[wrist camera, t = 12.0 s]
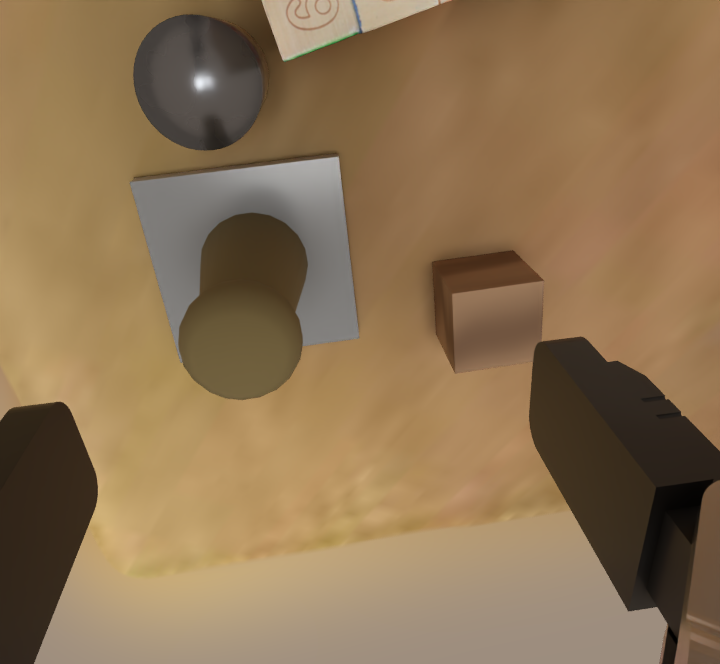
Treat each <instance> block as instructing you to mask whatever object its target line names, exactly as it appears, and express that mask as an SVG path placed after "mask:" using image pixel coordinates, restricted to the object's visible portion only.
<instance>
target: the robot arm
mask: <svg viewBox="0 0 720 664" xmlns="http://www.w3.org/2000/svg"><path fill="white" fill-rule="evenodd" d="M529 422H530V429H531V434H532V438H533V441H534V444H535V447H536V449H537V451H538V452H539V454H540V456H541V458H542V460H543V461H544V463H545V465H546V467H547V468H548V470H549V472H550V474H551V475H552V477H553V479H554V481H555V483H556V484H557V486H558V488H559V490H560V491H561V493H562V495H563V497H564V498H565V500H566V502H567V504H568V505H569V507H570V509H571V511H572V513H573V514H574V516H575V518H576V520H577V521H578V523H579V525H580V527H581V528H582V530H583V532H584V534H585V535H586V537H587V539H588V541H589V543H590V544H591V546H592V548H593V550H594V551H595V553H596V555H597V557H598V558H599V560H600V562H601V564H602V565H603V567H604V569H605V571H606V573H607V574H608V576H609V578H610V580H611V581H612V583H613V585H614V586H615V588H616V590H617V592H618V594H619V596H620V597H621V599H622V601H623V603H624V604H625V606H626V608H627V610H628V611H634V610H640V609H647V608H653V607H658V609H659V610H660V612H661V614H662V615H663V617H664V618H665V620H666V622H667V627H666V630H665V634H664V638H663V644H662V651H661V657H660V662H659V664H720V451H719V450H718V449H717V448H716V447H715V446H714V445H713V444H712V443H711V442H710V441H709V440H708V439H707V438H706V437H705V436H704V435H703V434H702V433H701V432H700V431H699V430H698V429H697V428H696V427H695V426H694V425H693V424H692V423H691V422H690V421H689V420H688V419H687V418H686V417H685V416H681V411H680V410H679V409H678V408H677V407H676V406H675V405H674V404H673V403H672V402H671V401H670V400H669V399H667V400H666V399H665V395H664V394H663V393H662V392H661V391H660V390H659V389H658V388H657V387H656V386H655V385H654V384H653V383H652V382H651V381H650V380H649V379H648V378H647V377H646V376H645V375H643V374H641V373H639V372H637V371H635V370H634V369H632V368H630V367H628V366H626V365H624V364H622V363H621V362H619V361H613V362H607V361H606V360H605V359H604V358H603V357H602V356H601V355H600V353H599V352H598V351H597V350H596V349H595V348H594V347H593V346H592V345H591V344H590V342H589V341H588V340H587V339H585V338H584V337H574V338H567V339H559V340H551V341H543V342H539V343H537V345H536V347H535V350H534V356H533V369H532V383H531V397H530V410H529ZM97 495H98V485H97V477H96V473H95V470H94V467H93V465H92V463H91V460H90V458H89V455H88V453H87V450H86V448H85V445H84V443H83V440H82V438H81V435H80V433H79V430H78V428H77V425H76V423H75V421H74V418H73V416H72V413H71V411H70V409H69V408H68V407H67V405H66V404H64V403H62V402H54V403H46V404H38V405H30V406H22V407H14V408H12V409H10V410H9V411H8V412H7V413H6V414H5V415H4V417H3V418H2V420H1V421H0V664H34V662H35V659H36V656H37V654H38V652H39V649H40V647H41V644H42V641H43V639H44V636H45V634H46V631H47V629H48V626H49V624H50V621H51V619H52V616H53V614H54V611H55V608H56V606H57V603H58V601H59V599H60V596H61V593H62V591H63V588H64V586H65V583H66V581H67V578H68V576H69V573H70V571H71V568H72V566H73V563H74V561H75V558H76V556H77V553H78V550H79V548H80V545H81V543H82V540H83V538H84V535H85V533H86V530H87V528H88V525H89V523H90V520H91V518H92V515H93V513H94V510H95V507H96V503H97Z"/></svg>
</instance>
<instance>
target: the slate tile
mask: <svg viewBox="0 0 720 664" xmlns="http://www.w3.org/2000/svg"><path fill="white" fill-rule="evenodd" d="M130 185H131V189H132V192H133V196H134V199H135V203H136V207H137V210H138V214H139V217H140V221H141V224H142V228H143V231H144V235H145V238H146V242H147V245H148V249H149V253H150V256H151V260H152V263H153V267H154V270H155V274H156V277H157V281H158V284H159V288H160V291H161V295H162V298H163V302H164V306H165V309H166V313H167V316H168V320H169V323H170V327H171V330H172V334H173V337H174V341H175V344H176V348H177V352H178V355H179V359H180V362H181V363H182V358H181V355H180V352H179V346H178V339H179V327H180V324H181V322H182V320H183V318H184V315H185V313H186V311H187V309H188V307H189V305H190V304H191V303H192V302H193V301H194V300H195V299H196V298H197V297H198V296H199V293H200V264H201V251H202V247H203V245H204V243H205V240H206V238H207V236H208V234H209V233H210V232H211V231H212V230H213V229H214V228H215V227H216V226H217V225H218V224H219V223H220V222H222V221H224V220H226V219H228V218H230V217H232V216H234V215H238V214H245V213H252V212H253V213H259V214H265V215H270V216H272V217H274V218H276V219H278V220H280V221H282V222H284V223H286V224H287V225H288V226H289V227H290V228H291V229H292V230H293V231H294V232H295V233H296V234H297V235H298V236H299V238H300V240H301V242H302V244H303V246H304V247H305V250H306V255H307V261H308V268H307V274H306V280H305V283H304V287H303V290H302V293H301V296H300V299H299V302H298V306H297V309H296V312H295V313H296V314H297V316H298V318H299V320H300V325H301V330H302V335H303V345H302V346H307V345H314V344H322V343H329V342H336V341H344V340H351V339H358V338H359V331H358V323H357V314H356V305H355V296H354V287H353V279H352V270H351V261H350V252H349V244H348V235H347V226H346V217H345V209H344V200H343V191H342V182H341V173H340V165H339V156H338V154H337V153H335V154H327V155H318V156H310V157H302V158H294V159H286V160H278V161H269V162H261V163H253V164H245V165H237V166H228V167H220V168H212V169H204V170H196V171H187V172H179V173H171V174H163V175H155V176H147V177H138V178H134V179H133V180H131V181H130Z"/></svg>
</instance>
